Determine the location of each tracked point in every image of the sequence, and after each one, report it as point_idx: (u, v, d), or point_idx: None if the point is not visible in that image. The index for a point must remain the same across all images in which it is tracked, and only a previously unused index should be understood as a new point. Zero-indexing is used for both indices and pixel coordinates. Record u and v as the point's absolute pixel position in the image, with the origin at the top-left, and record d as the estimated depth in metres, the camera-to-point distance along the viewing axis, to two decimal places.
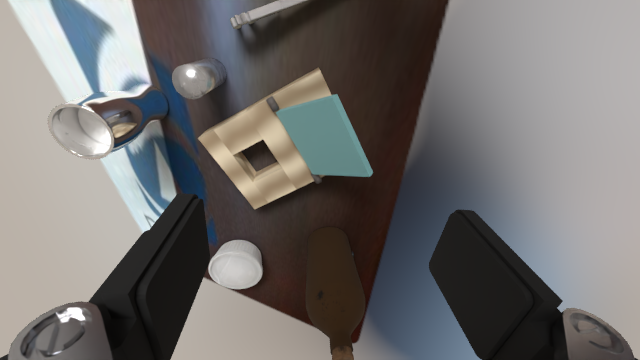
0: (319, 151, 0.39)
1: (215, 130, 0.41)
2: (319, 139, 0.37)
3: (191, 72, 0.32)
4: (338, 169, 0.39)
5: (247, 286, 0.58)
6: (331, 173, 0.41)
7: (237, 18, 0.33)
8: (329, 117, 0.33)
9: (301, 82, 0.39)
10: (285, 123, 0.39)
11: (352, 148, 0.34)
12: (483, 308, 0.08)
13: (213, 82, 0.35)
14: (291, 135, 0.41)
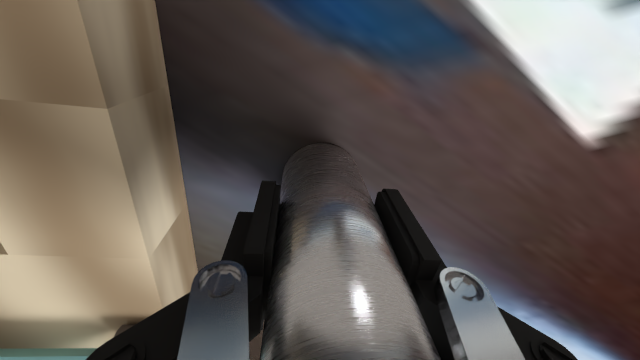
0: None
1: (101, 116, 0.08)
2: None
3: None
4: None
5: None
6: None
7: None
8: None
9: None
10: None
11: None
12: None
13: None
14: None
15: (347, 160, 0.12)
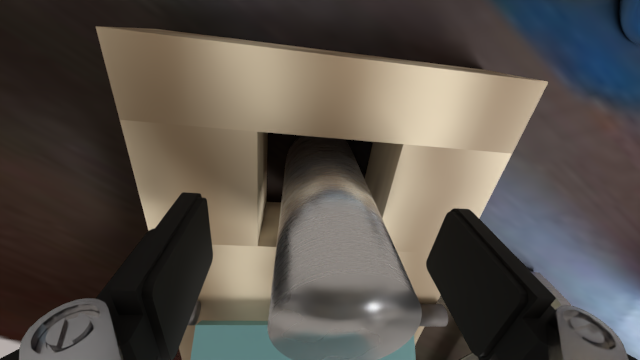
0: None
1: (505, 158, 0.12)
2: None
3: (367, 348, 0.07)
4: None
5: None
6: None
7: None
8: None
9: None
10: None
11: None
12: (478, 306, 0.08)
13: None
14: None
15: (343, 144, 0.14)
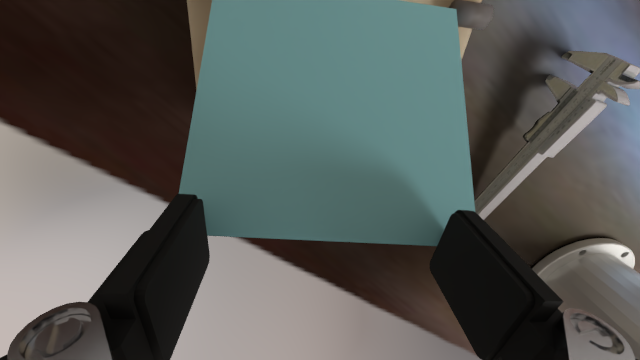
0: (309, 74, 0.12)
1: None
2: (354, 107, 0.11)
3: None
4: (225, 108, 0.11)
5: None
6: (210, 61, 0.11)
7: (639, 86, 0.16)
8: (422, 199, 0.11)
9: None
10: (420, 16, 0.13)
11: (304, 223, 0.10)
12: (484, 308, 0.08)
13: None
14: (379, 4, 0.13)
15: None
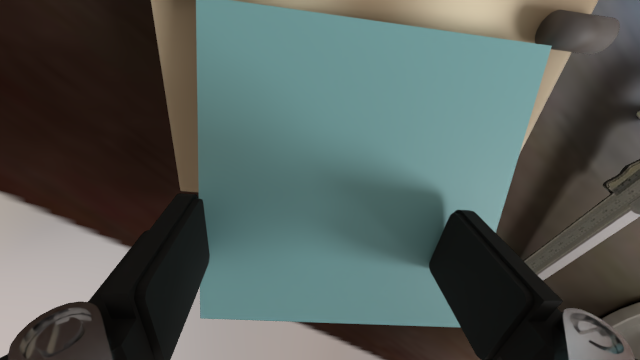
0: (327, 162, 0.10)
1: None
2: (375, 201, 0.10)
3: None
4: (232, 206, 0.10)
5: None
6: (208, 150, 0.09)
7: None
8: (427, 290, 0.11)
9: None
10: (491, 63, 0.09)
11: (314, 310, 0.11)
12: (483, 308, 0.08)
13: None
14: (436, 44, 0.09)
15: None
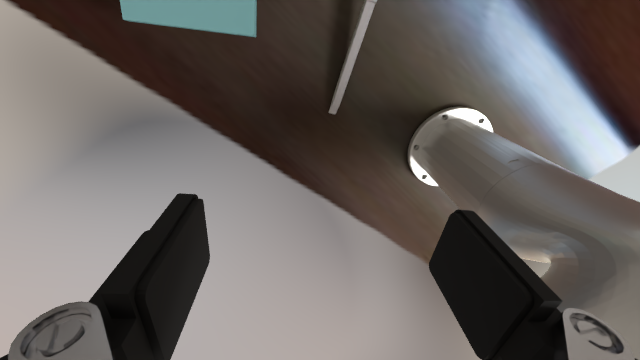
0: None
1: None
2: None
3: None
4: None
5: None
6: None
7: None
8: (229, 10, 0.24)
9: None
10: None
11: (176, 18, 0.24)
12: (483, 308, 0.08)
13: None
14: None
15: None
